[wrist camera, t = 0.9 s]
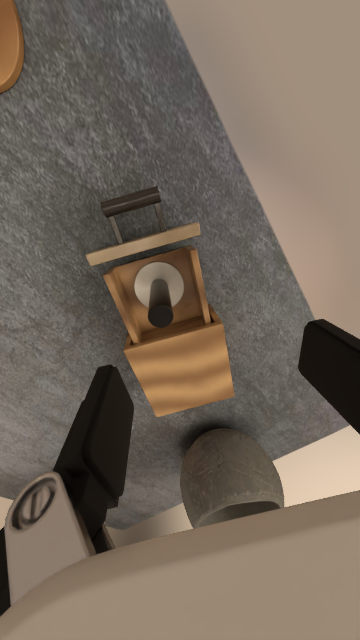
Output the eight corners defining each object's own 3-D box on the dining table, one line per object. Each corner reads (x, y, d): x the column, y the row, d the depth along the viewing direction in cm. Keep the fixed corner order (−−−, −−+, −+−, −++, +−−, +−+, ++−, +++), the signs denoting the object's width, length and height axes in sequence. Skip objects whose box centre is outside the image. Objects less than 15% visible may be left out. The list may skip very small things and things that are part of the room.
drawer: (81, 212, 22) (63, 210, 17) (183, 183, 21) (189, 173, 17) (135, 334, 30) (132, 353, 26) (209, 314, 30) (217, 329, 26)
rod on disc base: (126, 269, 24) (110, 293, 16) (176, 254, 24) (187, 271, 16) (144, 314, 27) (138, 354, 19) (188, 301, 27) (202, 336, 19)
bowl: (266, 441, 51) (304, 517, 38) (200, 470, 54) (214, 549, 41) (238, 400, 42) (276, 482, 29) (160, 437, 45) (162, 527, 32)
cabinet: (129, 326, 30) (123, 350, 24) (210, 304, 30) (222, 323, 24) (156, 387, 37) (156, 417, 31) (222, 369, 37) (234, 396, 31)
